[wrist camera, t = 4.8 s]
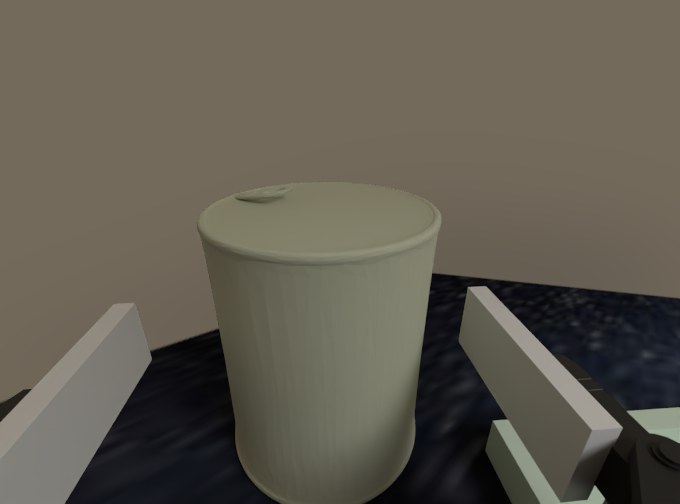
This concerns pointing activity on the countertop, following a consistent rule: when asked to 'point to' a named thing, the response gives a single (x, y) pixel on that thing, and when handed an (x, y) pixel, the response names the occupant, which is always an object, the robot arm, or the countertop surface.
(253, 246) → the can
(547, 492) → the tray
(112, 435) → the countertop surface
